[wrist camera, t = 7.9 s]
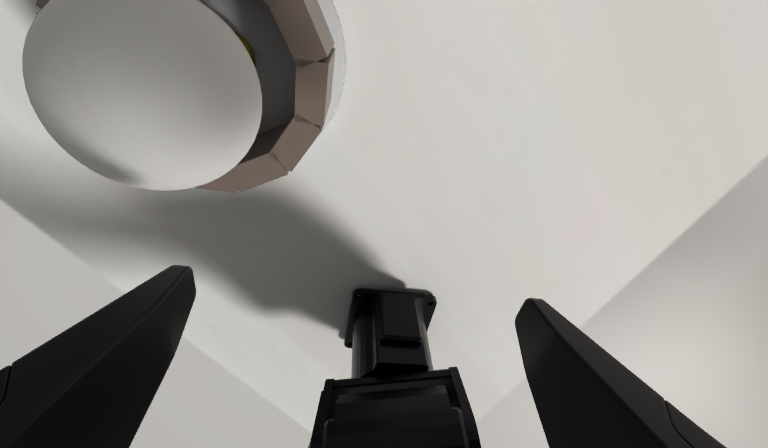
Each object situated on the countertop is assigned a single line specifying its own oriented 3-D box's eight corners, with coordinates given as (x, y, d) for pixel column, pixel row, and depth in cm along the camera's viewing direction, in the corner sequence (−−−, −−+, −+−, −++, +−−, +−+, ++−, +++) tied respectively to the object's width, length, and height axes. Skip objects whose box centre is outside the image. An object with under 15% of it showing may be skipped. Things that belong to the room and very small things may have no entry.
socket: (334, 170, 21) (328, 213, 17) (136, 144, 19) (78, 184, 16) (358, -62, 15) (357, -80, 11) (75, -126, 14) (-45, -173, 10)
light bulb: (149, 76, 17) (-57, 161, 9) (186, -54, 14) (-60, -111, 6) (265, 139, 19) (189, 258, 11) (316, 36, 16) (268, 87, 8)
